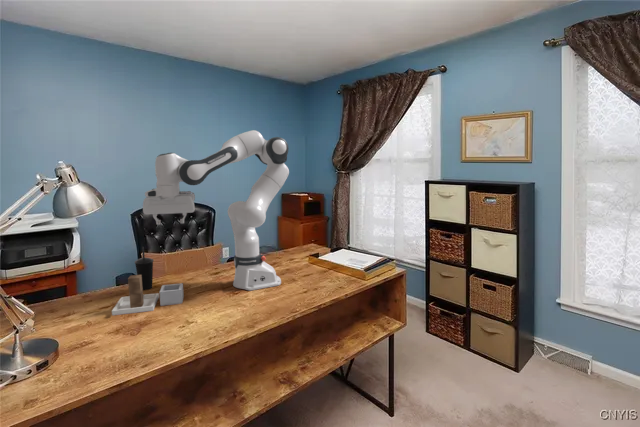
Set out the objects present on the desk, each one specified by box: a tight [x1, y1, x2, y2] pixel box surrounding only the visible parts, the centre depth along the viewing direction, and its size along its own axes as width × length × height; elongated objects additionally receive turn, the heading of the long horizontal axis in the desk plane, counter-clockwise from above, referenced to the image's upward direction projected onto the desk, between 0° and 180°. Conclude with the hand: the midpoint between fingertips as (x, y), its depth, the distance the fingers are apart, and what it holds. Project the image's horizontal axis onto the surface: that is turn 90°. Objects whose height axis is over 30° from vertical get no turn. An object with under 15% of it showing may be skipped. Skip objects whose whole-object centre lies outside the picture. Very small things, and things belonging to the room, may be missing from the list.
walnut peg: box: [127, 274, 144, 308], centre depth 136 cm, size 4×4×12 cm
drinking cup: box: [134, 246, 154, 291], centre depth 154 cm, size 8×8×20 cm
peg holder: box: [159, 283, 184, 307], centre depth 141 cm, size 8×8×6 cm
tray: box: [111, 292, 160, 316], centre depth 136 cm, size 14×14×2 cm
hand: (170, 223), depth 147 cm, fingers open, 8 cm apart
